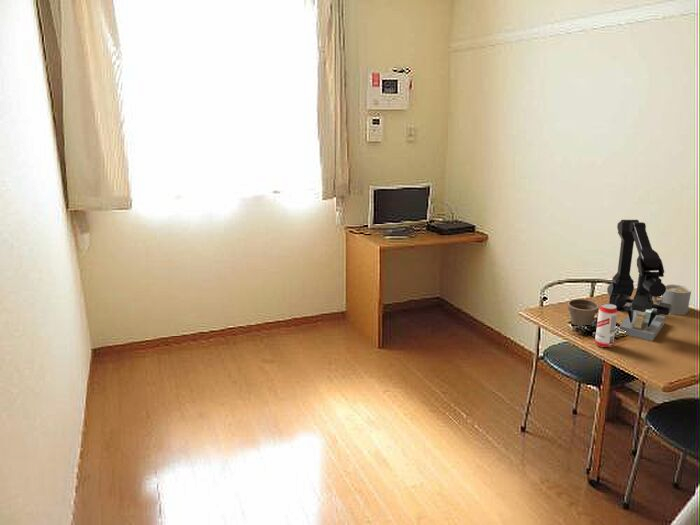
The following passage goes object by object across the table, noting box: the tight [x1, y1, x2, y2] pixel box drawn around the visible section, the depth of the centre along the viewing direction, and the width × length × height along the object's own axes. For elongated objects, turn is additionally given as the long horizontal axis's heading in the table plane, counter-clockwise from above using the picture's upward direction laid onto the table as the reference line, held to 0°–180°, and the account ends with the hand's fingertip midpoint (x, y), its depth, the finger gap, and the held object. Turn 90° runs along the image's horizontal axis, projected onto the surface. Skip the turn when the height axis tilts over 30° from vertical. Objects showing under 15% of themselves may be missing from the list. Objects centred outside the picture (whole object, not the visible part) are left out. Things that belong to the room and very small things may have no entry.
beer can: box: [594, 302, 619, 348], centre depth 199 cm, size 6×6×16 cm
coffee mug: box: [652, 284, 692, 316], centre depth 229 cm, size 13×10×10 cm
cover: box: [636, 309, 658, 321], centre depth 217 cm, size 7×5×3 cm
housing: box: [619, 310, 666, 342], centre depth 214 cm, size 12×20×3 cm, turn 140°
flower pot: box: [567, 298, 600, 326], centre depth 216 cm, size 12×11×10 cm
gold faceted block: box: [634, 312, 647, 329], centre depth 209 cm, size 2×7×5 cm, turn 140°
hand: (639, 324), depth 210 cm, fingers open, 6 cm apart
